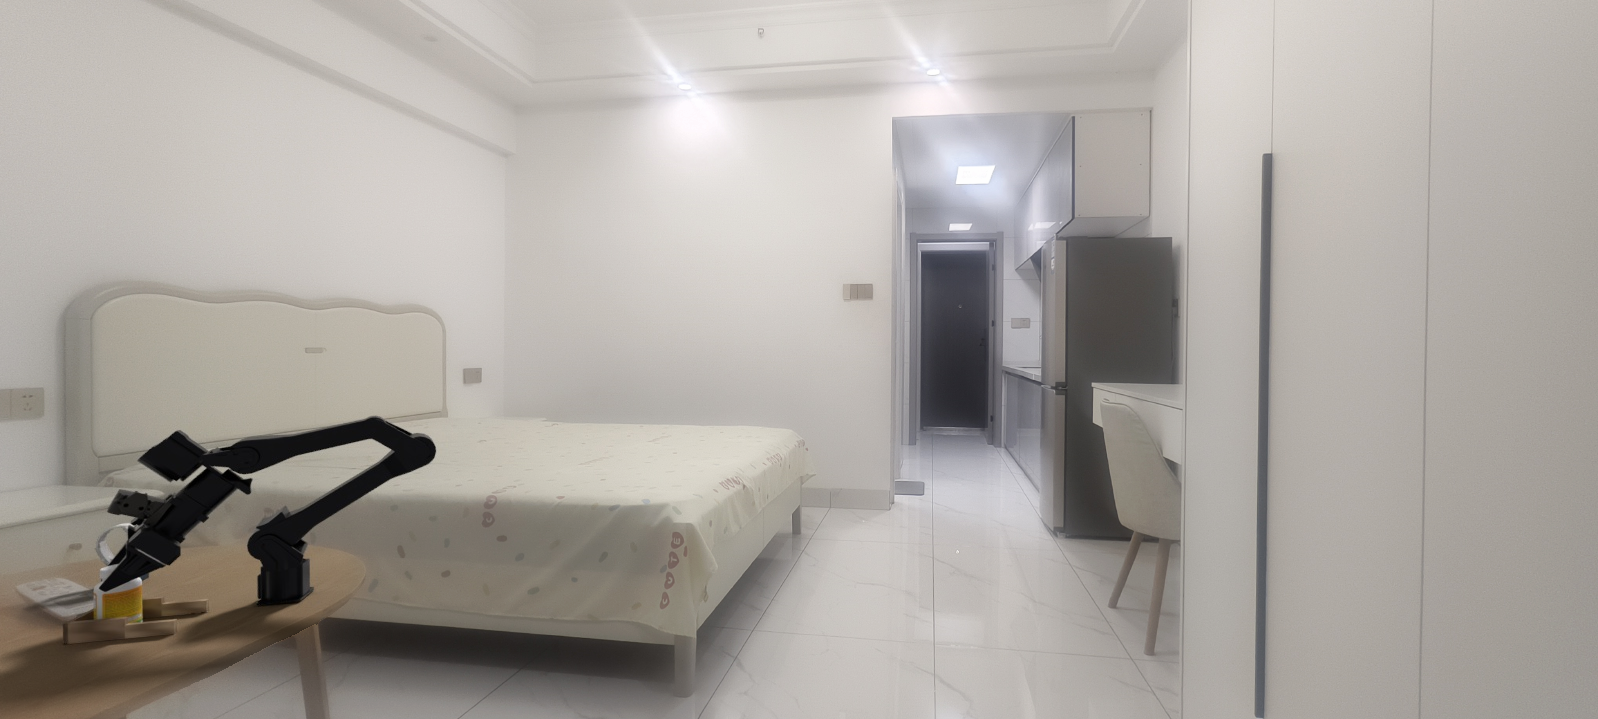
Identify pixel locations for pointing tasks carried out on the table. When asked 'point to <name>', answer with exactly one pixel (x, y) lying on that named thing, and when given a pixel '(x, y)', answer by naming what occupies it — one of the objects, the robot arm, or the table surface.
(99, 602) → the supplement bottle
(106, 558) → the watch
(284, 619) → the table surface
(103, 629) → the jig
